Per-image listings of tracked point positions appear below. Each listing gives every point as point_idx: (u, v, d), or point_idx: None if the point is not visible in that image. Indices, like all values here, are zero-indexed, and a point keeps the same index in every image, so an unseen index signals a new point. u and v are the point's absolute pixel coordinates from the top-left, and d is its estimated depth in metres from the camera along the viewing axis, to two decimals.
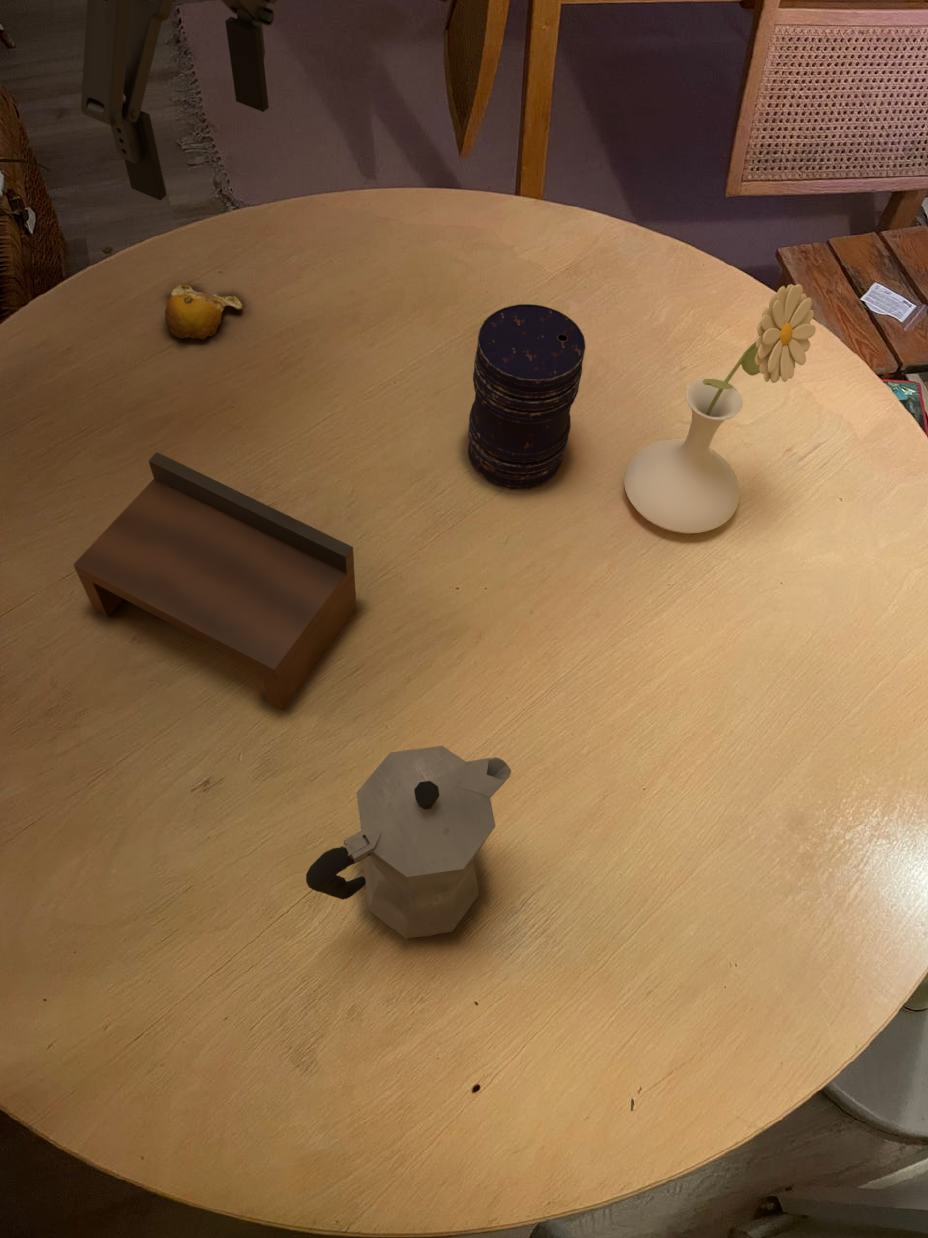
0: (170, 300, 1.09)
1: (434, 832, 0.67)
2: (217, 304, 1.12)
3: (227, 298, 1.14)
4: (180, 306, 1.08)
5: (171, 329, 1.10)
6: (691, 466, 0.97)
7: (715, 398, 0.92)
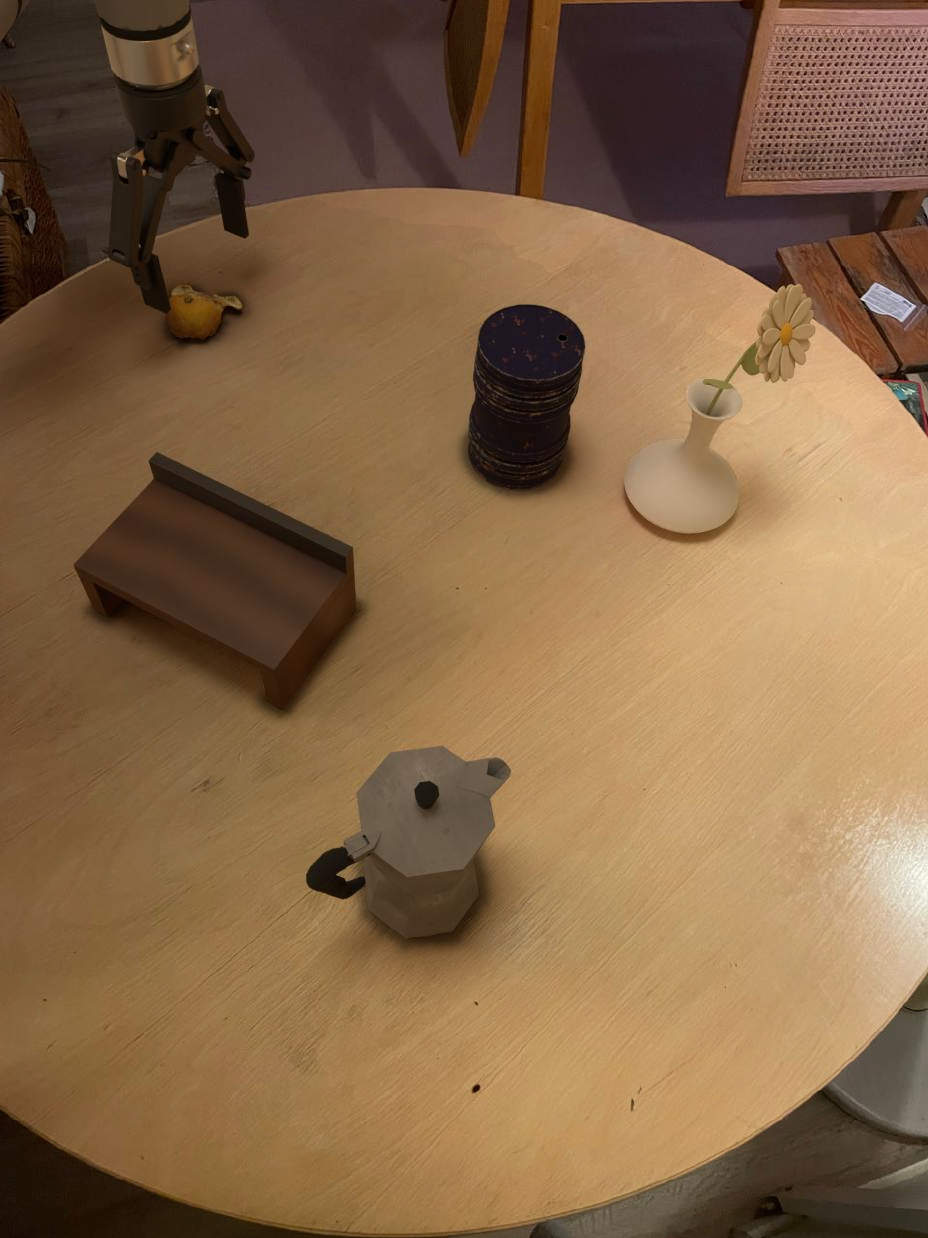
0: (170, 300, 1.09)
1: (434, 832, 0.67)
2: (217, 304, 1.12)
3: (227, 298, 1.14)
4: (180, 306, 1.08)
5: (171, 329, 1.10)
6: (691, 466, 0.97)
7: (715, 398, 0.92)
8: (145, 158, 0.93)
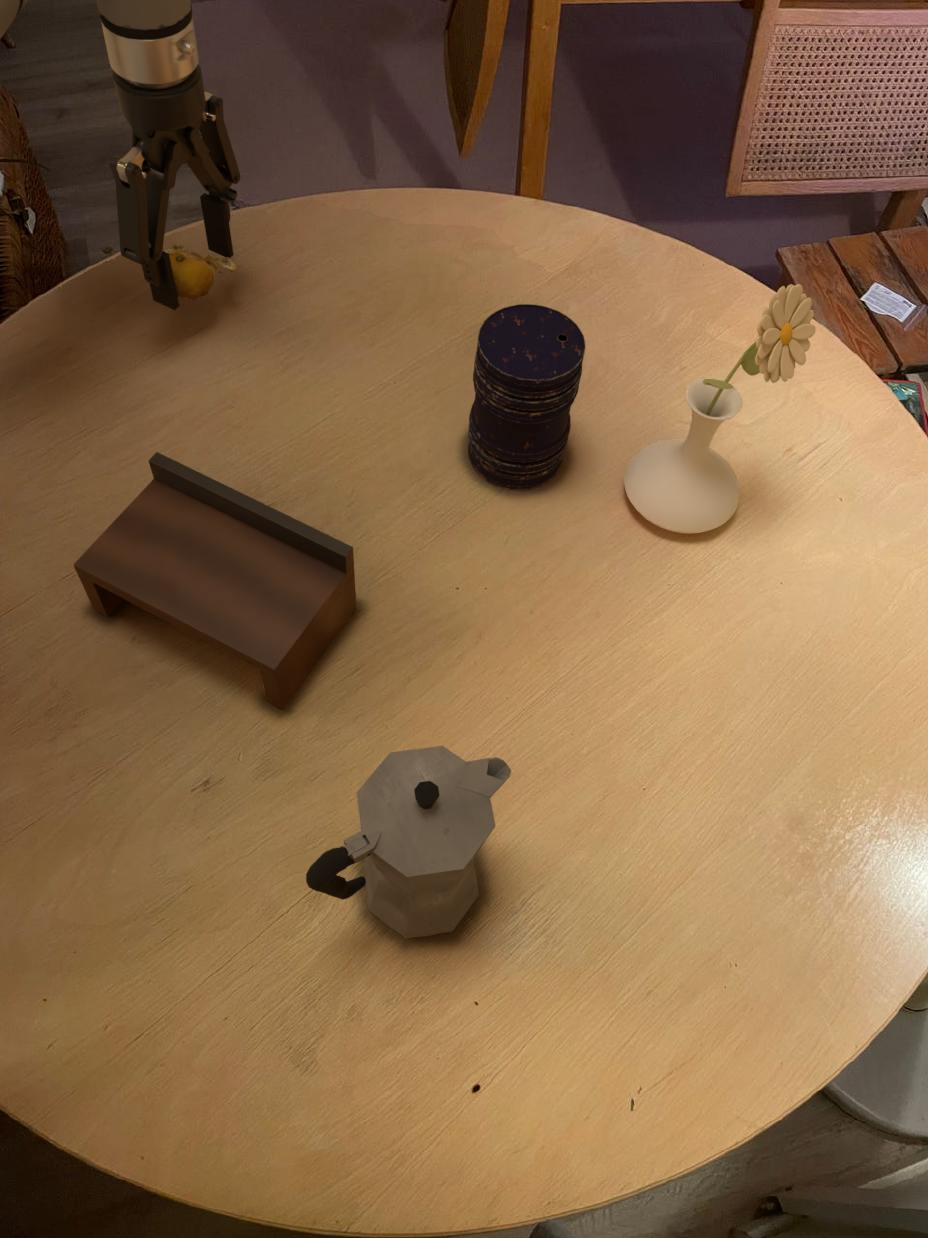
0: None
1: (434, 832, 0.67)
2: (210, 265, 1.09)
3: (220, 259, 1.10)
4: (171, 265, 1.05)
5: None
6: (691, 466, 0.97)
7: (715, 398, 0.92)
8: (144, 158, 0.93)
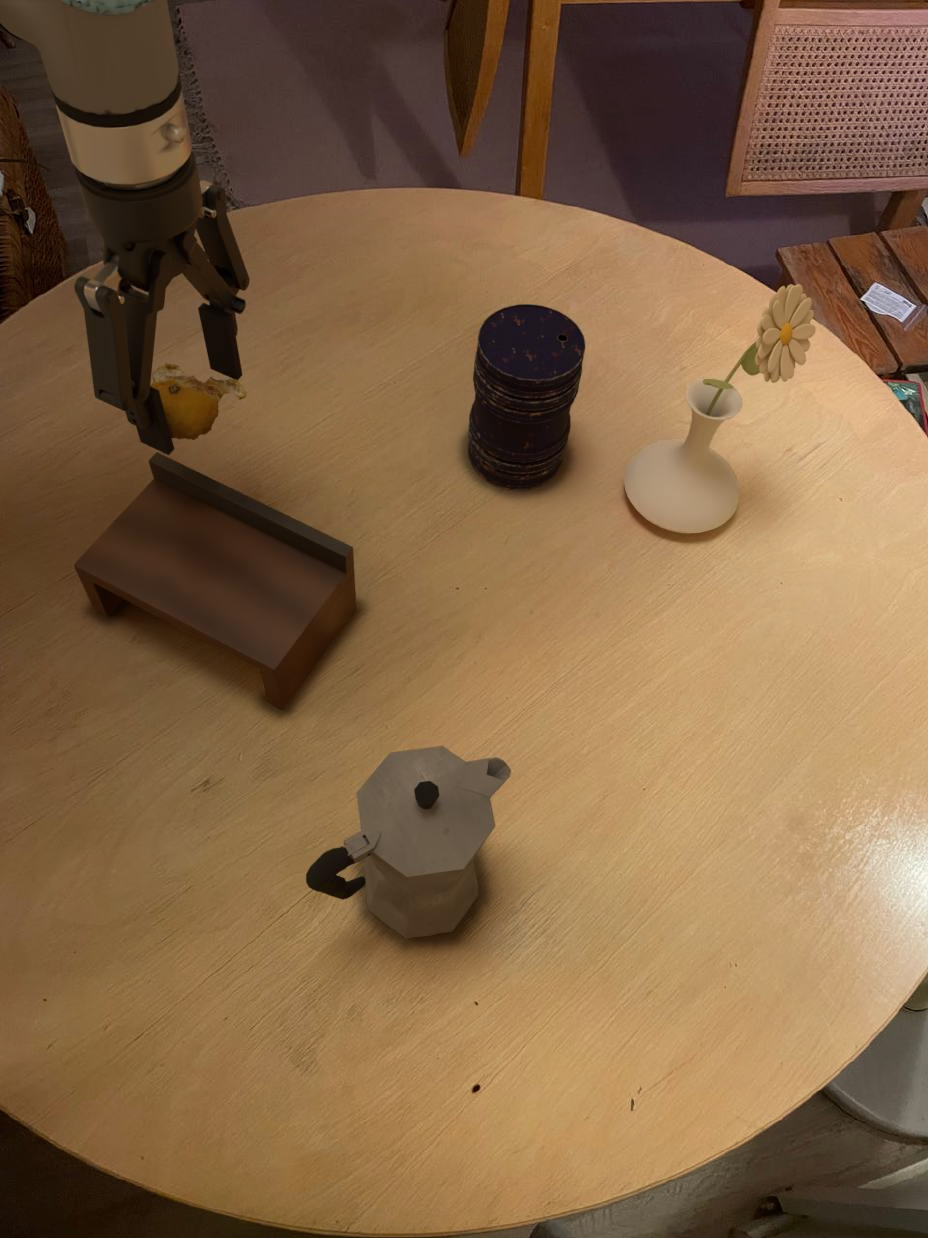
0: None
1: (434, 832, 0.67)
2: (213, 391, 0.85)
3: (226, 382, 0.86)
4: (163, 398, 0.81)
5: None
6: (691, 466, 0.97)
7: (715, 398, 0.92)
8: (121, 278, 0.69)
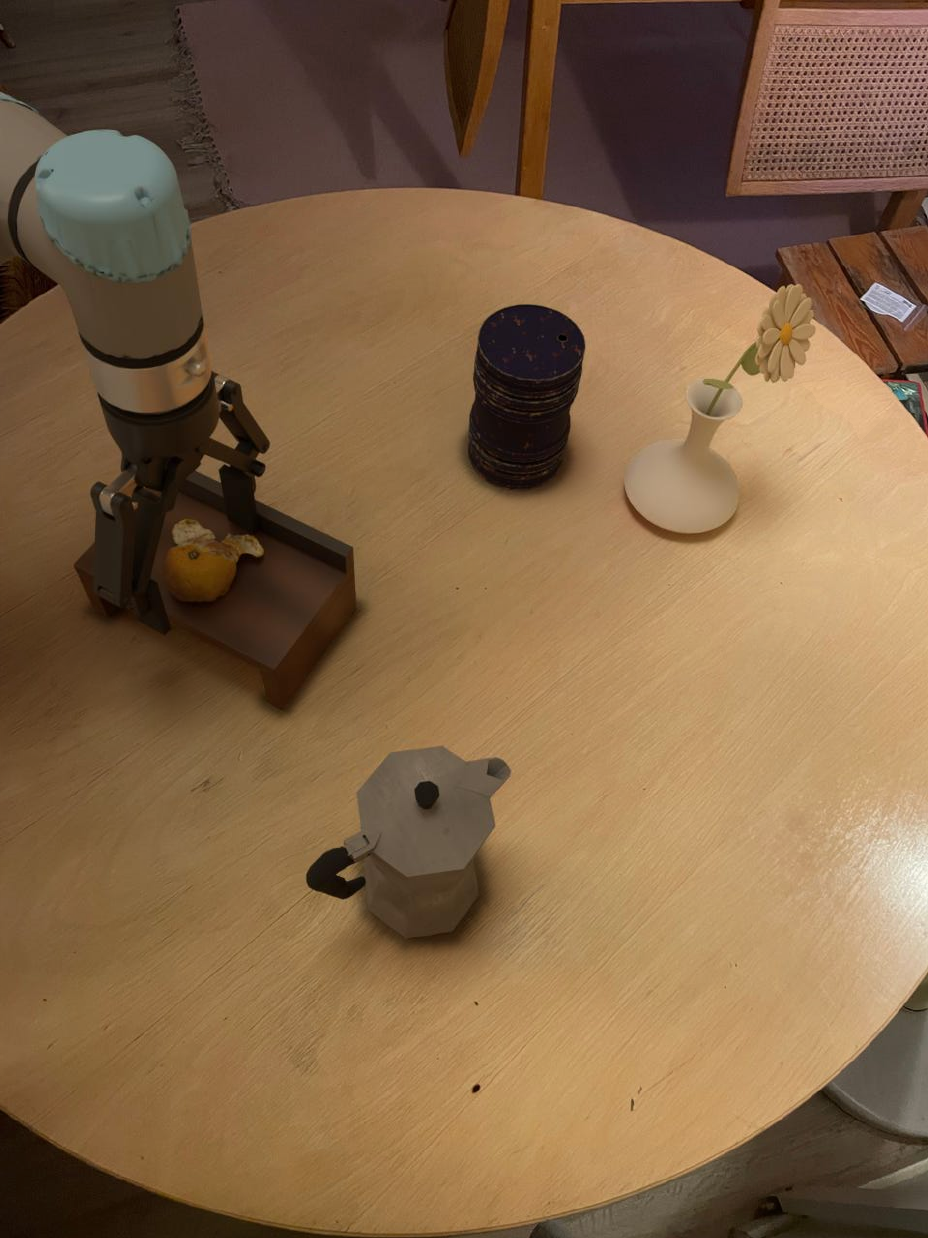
0: (170, 554, 0.83)
1: (434, 832, 0.67)
2: (231, 550, 0.87)
3: (244, 538, 0.88)
4: (183, 565, 0.83)
5: (171, 590, 0.84)
6: (691, 466, 0.97)
7: (715, 398, 0.92)
8: (137, 485, 0.70)
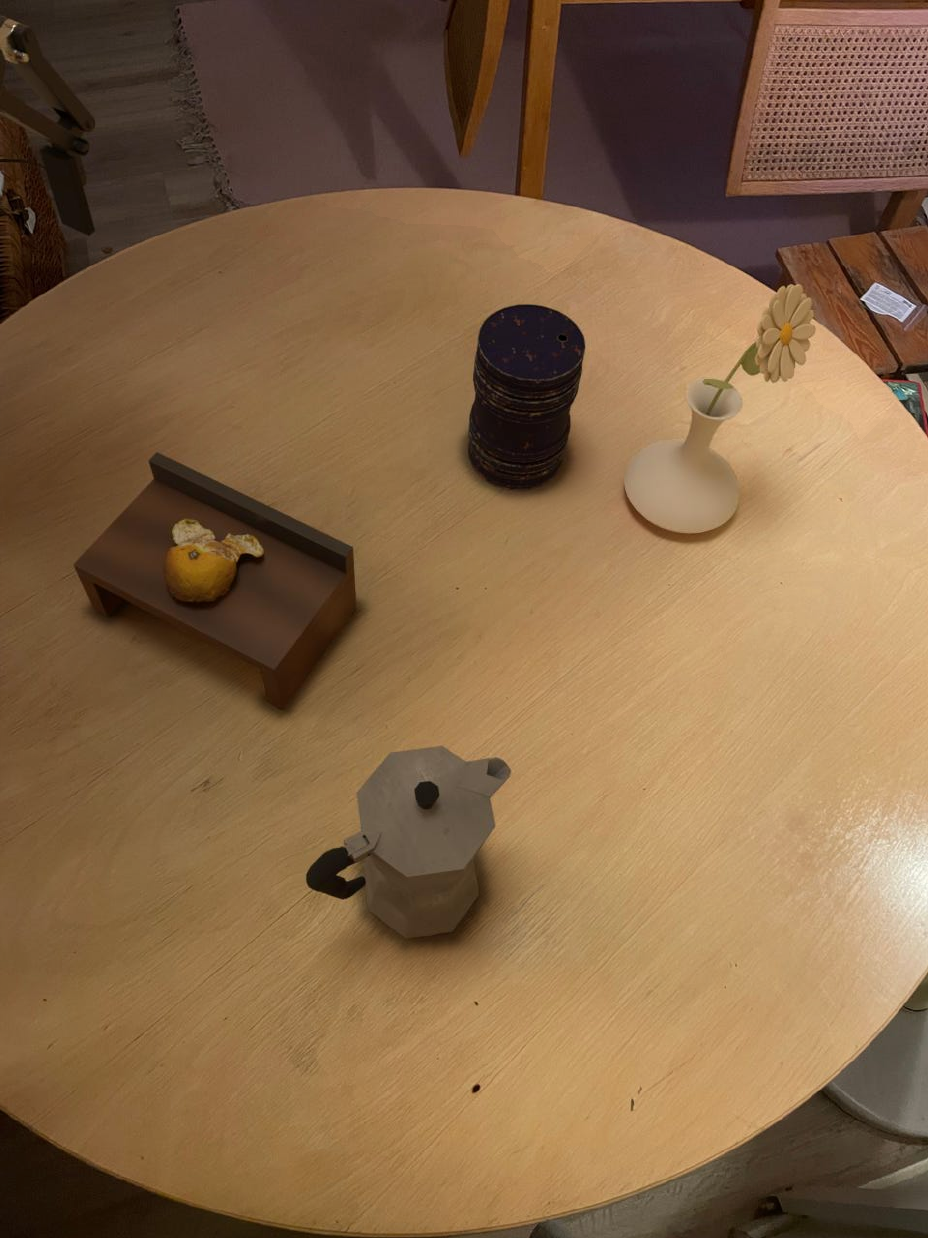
0: (170, 554, 0.83)
1: (434, 832, 0.67)
2: (231, 550, 0.87)
3: (244, 538, 0.88)
4: (183, 565, 0.83)
5: (171, 590, 0.84)
6: (691, 466, 0.97)
7: (715, 398, 0.92)
8: None
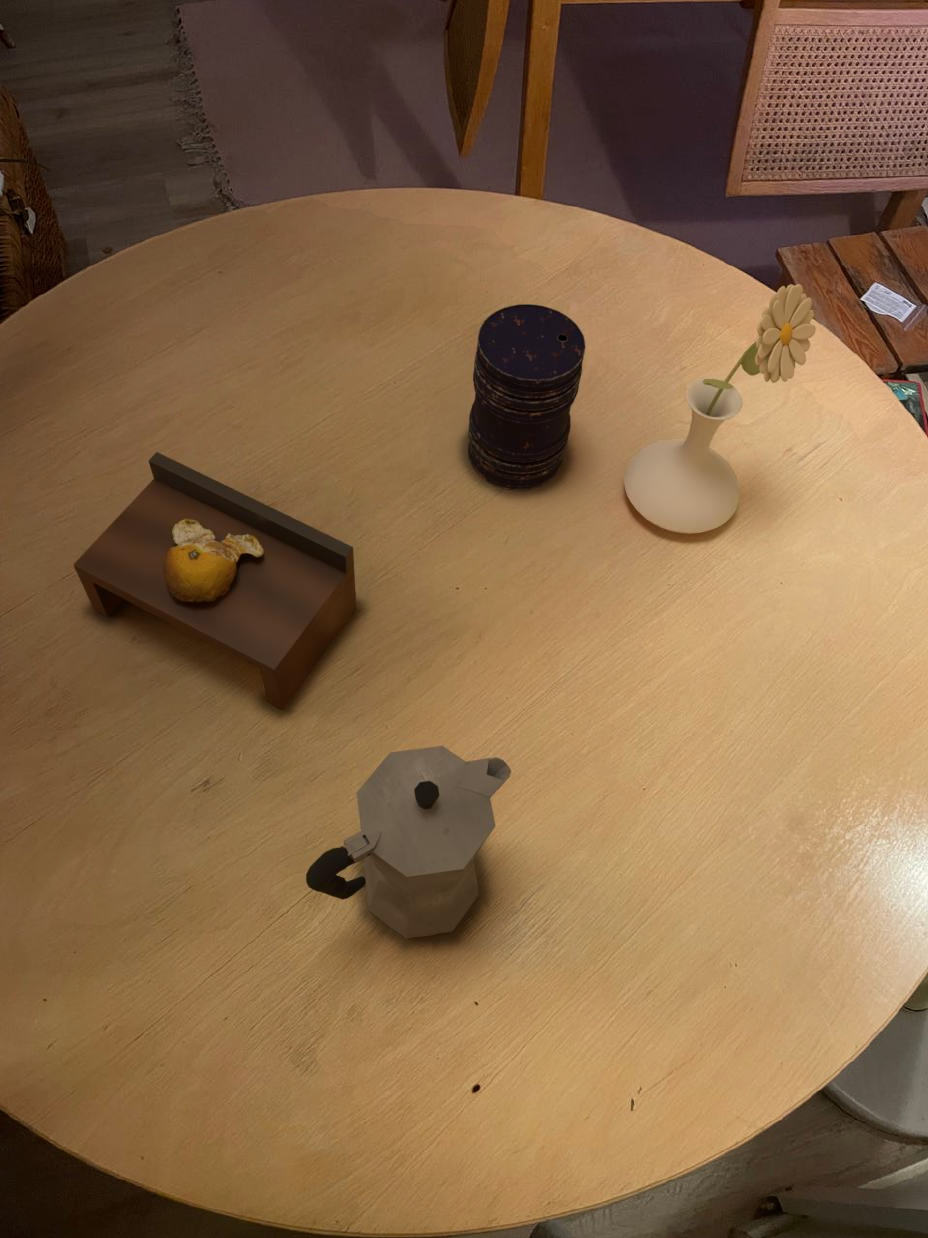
0: (170, 554, 0.83)
1: (434, 832, 0.67)
2: (231, 550, 0.87)
3: (244, 538, 0.88)
4: (183, 565, 0.83)
5: (171, 590, 0.84)
6: (691, 466, 0.97)
7: (715, 398, 0.92)
8: None
